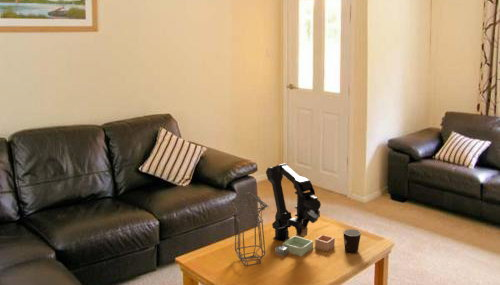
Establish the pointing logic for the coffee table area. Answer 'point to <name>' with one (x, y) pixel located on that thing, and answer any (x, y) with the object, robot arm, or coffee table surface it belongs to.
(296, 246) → the bin
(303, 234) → the walnut block
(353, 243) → the coffee mug
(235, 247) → the geometric lantern
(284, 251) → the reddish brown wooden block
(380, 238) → the coffee table surface
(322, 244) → the open square box
